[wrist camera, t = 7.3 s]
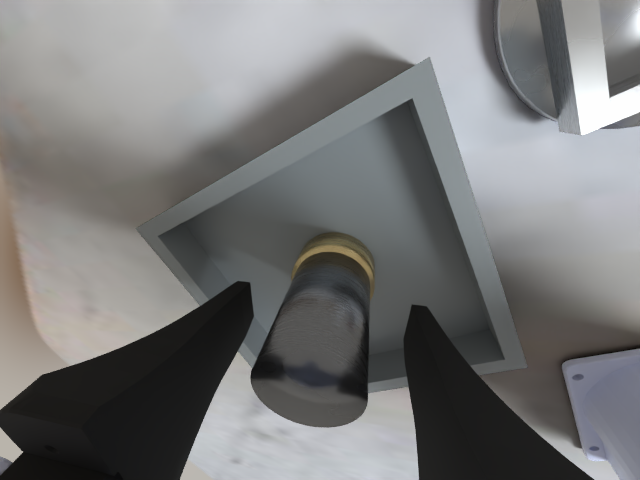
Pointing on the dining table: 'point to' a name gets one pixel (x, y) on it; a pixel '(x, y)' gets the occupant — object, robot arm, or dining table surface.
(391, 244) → the bin tray
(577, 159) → the dining table surface
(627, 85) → the stud socket
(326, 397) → the grey metal rounded cylinder
